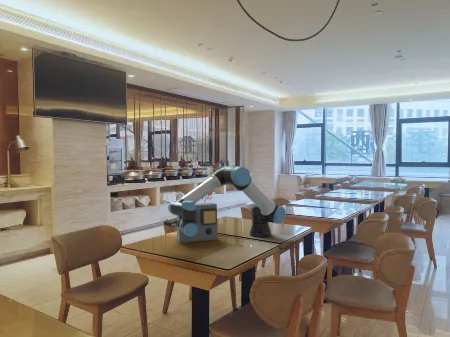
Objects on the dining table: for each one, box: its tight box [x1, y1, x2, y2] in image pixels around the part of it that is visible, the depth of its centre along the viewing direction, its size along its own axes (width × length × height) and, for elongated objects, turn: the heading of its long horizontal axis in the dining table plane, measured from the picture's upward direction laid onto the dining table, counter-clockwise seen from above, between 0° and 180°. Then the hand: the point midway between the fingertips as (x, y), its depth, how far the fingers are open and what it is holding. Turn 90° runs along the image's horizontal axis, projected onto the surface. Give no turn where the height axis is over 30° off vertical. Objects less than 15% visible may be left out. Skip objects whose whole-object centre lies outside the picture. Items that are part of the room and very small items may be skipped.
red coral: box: [201, 190, 214, 203], centre depth 276 cm, size 15×26×35 cm, turn 166°
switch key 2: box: [203, 210, 216, 224], centre depth 232 cm, size 3×8×8 cm, turn 108°
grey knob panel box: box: [176, 202, 218, 244], centre depth 235 cm, size 10×26×24 cm, turn 108°
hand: (178, 219), depth 224 cm, fingers open, 13 cm apart
